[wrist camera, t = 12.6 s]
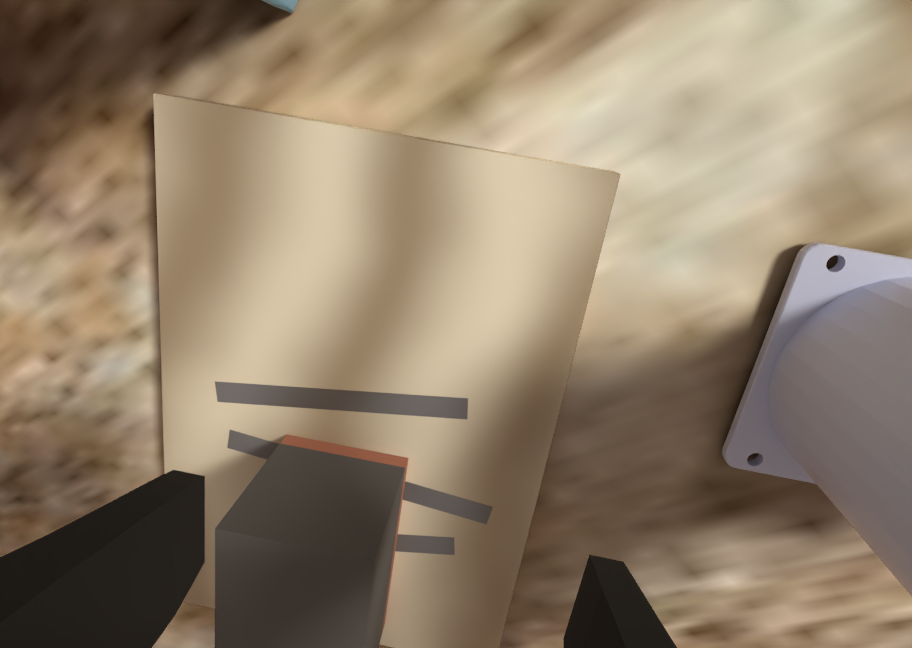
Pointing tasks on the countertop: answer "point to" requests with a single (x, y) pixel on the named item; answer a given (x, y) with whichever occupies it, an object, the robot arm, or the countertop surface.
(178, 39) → the countertop surface
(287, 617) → the block
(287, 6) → the gum box
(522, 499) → the board
